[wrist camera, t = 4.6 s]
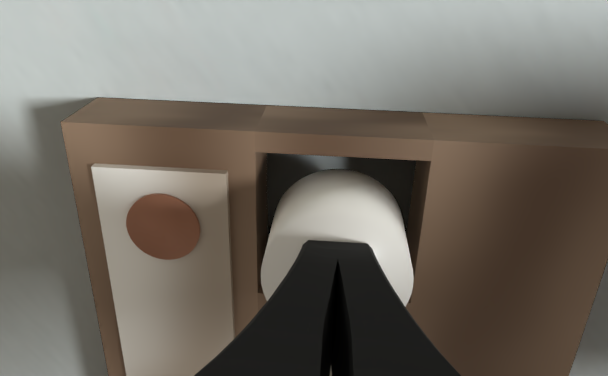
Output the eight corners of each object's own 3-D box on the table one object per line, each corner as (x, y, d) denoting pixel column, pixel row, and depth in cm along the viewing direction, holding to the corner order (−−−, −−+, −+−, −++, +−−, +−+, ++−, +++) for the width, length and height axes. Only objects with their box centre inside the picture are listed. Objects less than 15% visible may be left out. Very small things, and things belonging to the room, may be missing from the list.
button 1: (410, 172, 12) (422, 219, 10) (396, 284, 14) (404, 344, 12) (273, 165, 12) (259, 209, 10) (273, 277, 14) (261, 335, 12)
